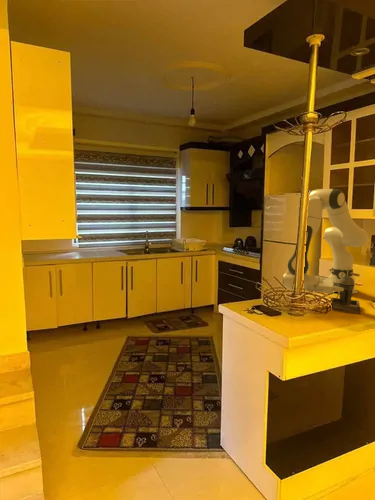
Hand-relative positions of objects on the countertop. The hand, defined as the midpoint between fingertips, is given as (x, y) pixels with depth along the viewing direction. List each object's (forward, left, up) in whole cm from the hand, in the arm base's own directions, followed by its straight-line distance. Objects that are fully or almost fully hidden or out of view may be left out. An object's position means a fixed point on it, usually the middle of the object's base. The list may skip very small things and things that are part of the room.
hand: (343, 287), depth 178 cm
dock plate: (0, +1, -11) cm, 11 cm away
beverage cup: (0, +1, -10) cm, 10 cm away
